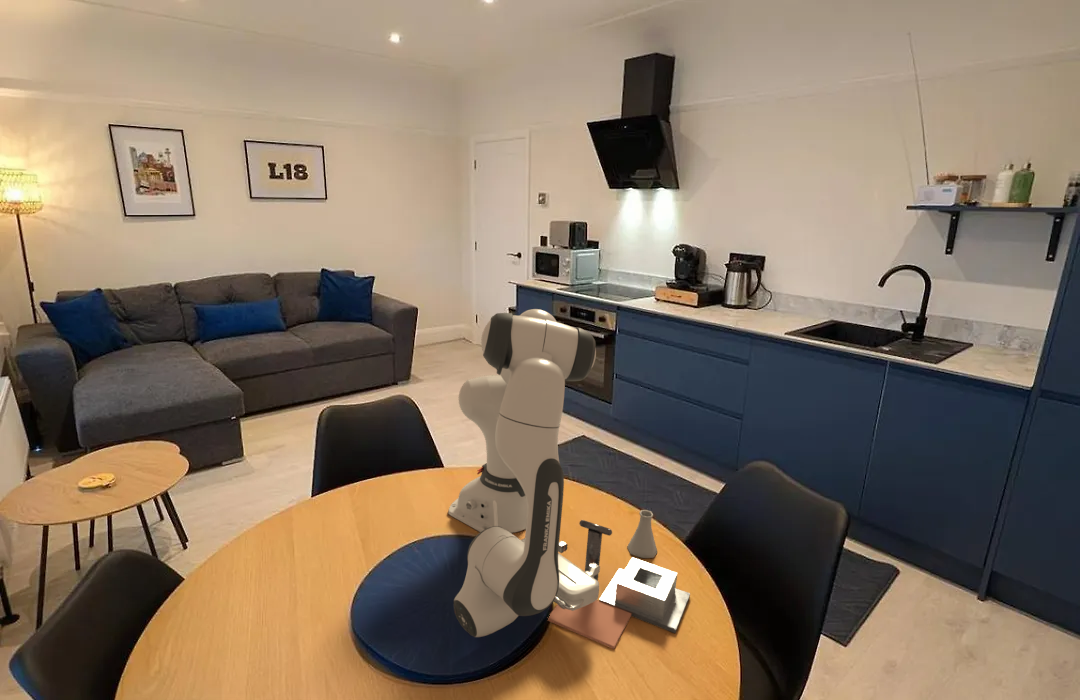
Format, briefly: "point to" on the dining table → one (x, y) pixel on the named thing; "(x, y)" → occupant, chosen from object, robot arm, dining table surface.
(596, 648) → the dining table surface
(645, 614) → the block
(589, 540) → the chuck key
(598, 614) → the key mat
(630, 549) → the flask
